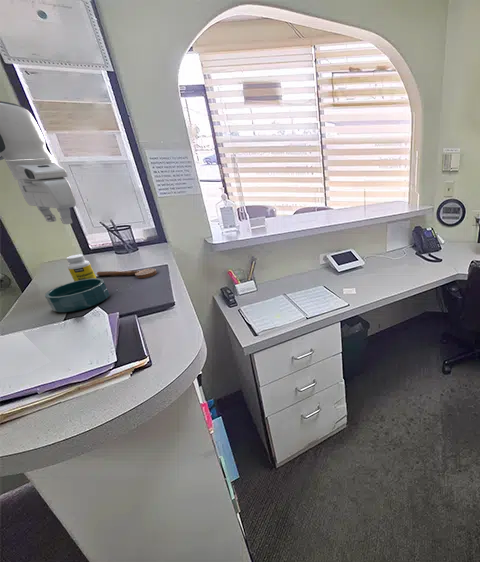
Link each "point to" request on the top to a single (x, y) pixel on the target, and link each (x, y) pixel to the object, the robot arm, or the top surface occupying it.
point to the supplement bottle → (80, 268)
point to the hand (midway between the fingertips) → (59, 222)
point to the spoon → (129, 273)
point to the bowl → (77, 295)
